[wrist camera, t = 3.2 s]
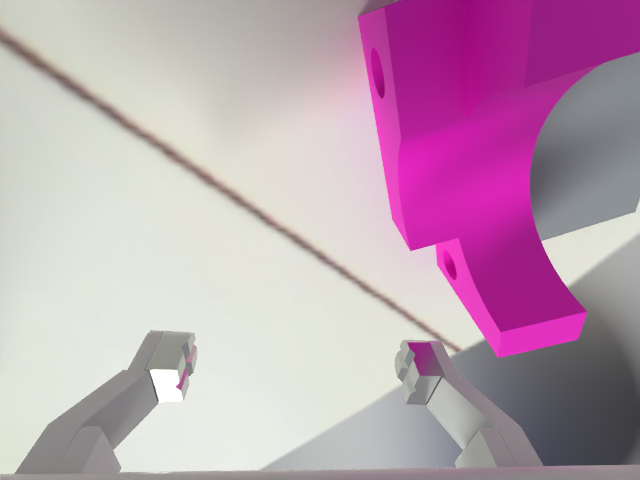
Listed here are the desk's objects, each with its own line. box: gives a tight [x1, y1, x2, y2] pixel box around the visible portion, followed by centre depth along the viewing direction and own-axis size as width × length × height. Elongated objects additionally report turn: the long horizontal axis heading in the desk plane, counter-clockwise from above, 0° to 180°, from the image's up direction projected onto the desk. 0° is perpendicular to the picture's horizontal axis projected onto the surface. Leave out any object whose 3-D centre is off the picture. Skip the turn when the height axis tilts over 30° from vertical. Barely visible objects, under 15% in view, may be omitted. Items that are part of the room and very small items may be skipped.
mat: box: [530, 52, 640, 241], centre depth 16 cm, size 8×14×1 cm, turn 19°
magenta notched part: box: [358, 0, 640, 358], centre depth 13 cm, size 15×6×8 cm, turn 16°
